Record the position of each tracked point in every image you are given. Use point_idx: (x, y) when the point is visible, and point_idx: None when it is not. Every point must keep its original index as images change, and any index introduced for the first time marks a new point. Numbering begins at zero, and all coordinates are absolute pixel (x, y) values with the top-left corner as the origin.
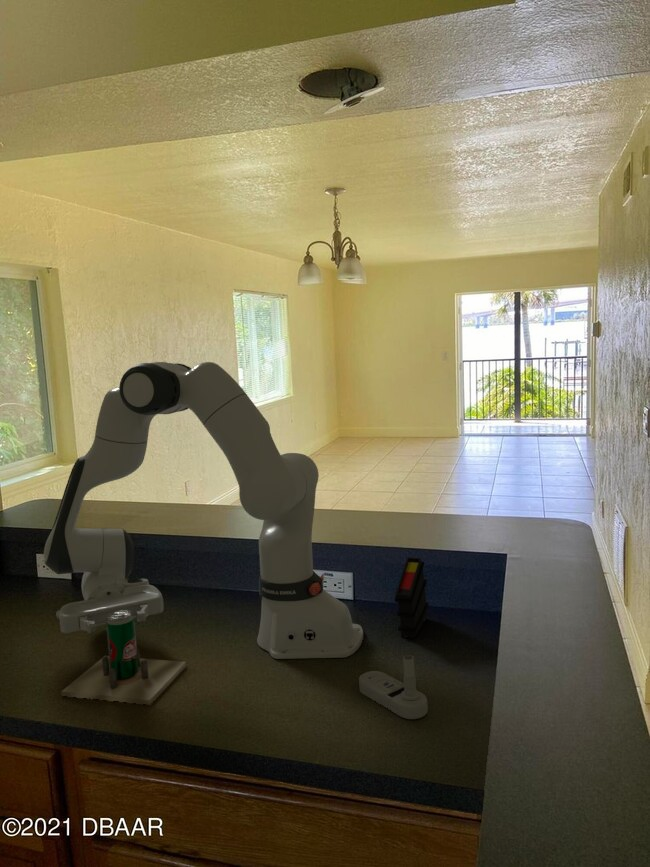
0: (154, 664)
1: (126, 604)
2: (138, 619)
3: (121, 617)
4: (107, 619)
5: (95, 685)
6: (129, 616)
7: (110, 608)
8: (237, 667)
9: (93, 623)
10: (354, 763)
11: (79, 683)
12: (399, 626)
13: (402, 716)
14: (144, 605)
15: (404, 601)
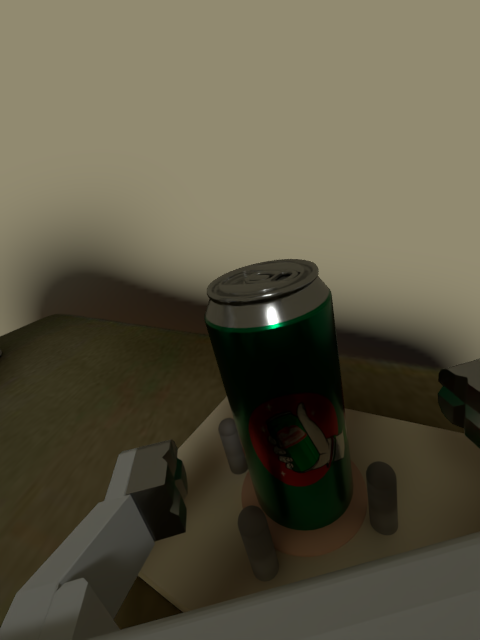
0: (198, 552)
1: (224, 607)
2: (180, 463)
3: (251, 267)
4: (321, 281)
5: (394, 455)
6: (220, 280)
7: (437, 546)
8: (4, 499)
9: (459, 366)
10: (90, 322)
11: (470, 477)
12: None
13: (1, 352)
14: (38, 607)
15: None
